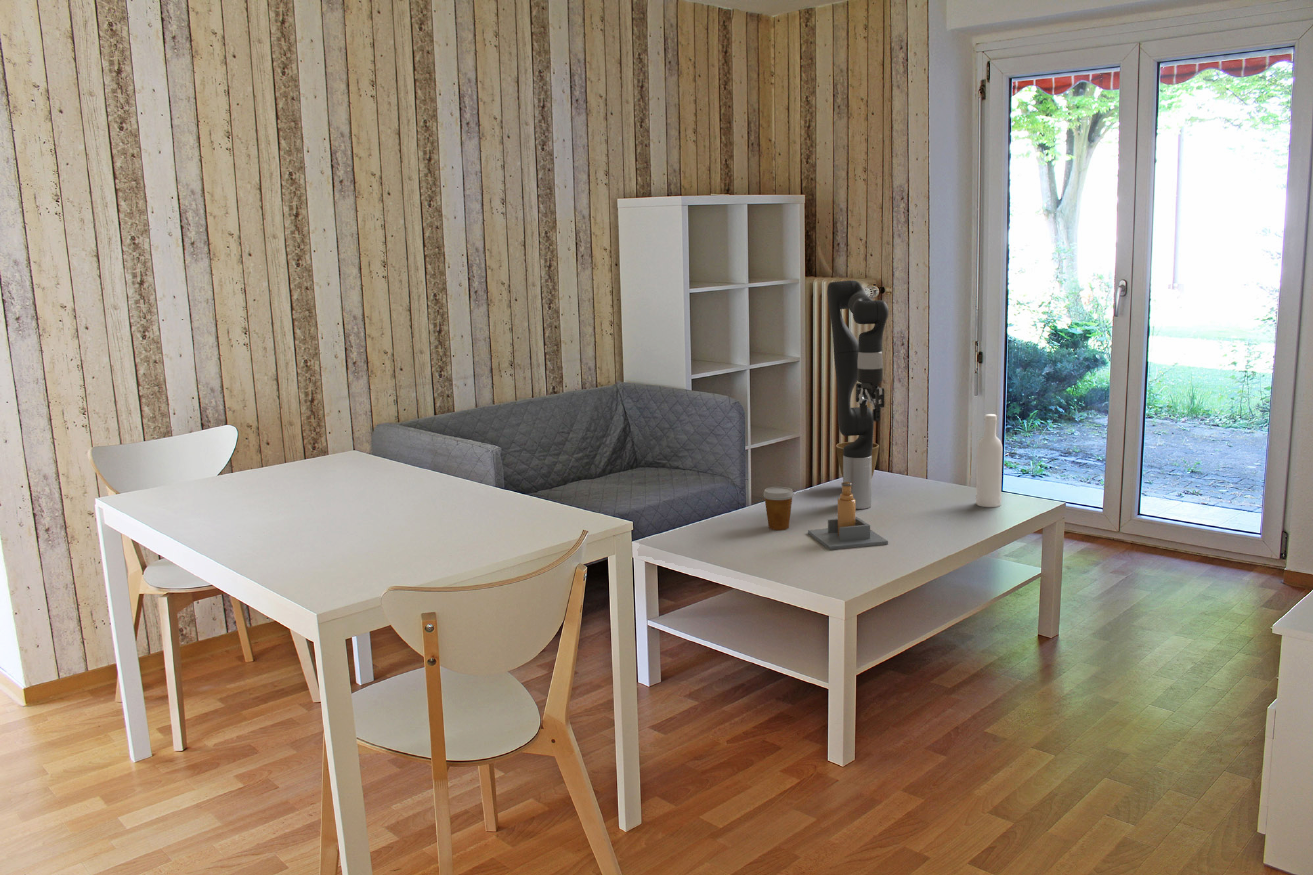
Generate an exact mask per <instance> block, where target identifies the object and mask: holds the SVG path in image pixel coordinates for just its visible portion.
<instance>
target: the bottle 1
mask: <svg viewBox="0 0 1313 875" xmlns="http://www.w3.org/2000/svg"><path fill="white" fill-rule="evenodd" d="M851 486H852V483H851V482H843V481H842V482H841V493H840V494H839V497H838V498H837V518H838V536H839V527H848V526H855V517H856V509H855V507H856V500H855V499H854V498H853V494H851Z"/></svg>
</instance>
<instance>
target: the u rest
mask: <svg viewBox="0 0 1313 875" xmlns="http://www.w3.org/2000/svg"><path fill="white" fill-rule="evenodd" d="M807 534H808V535H809V536H811V537H812V538H813V539H815V540H816V541H817V542H818V543H820V544H821V545H822V546H823V547H825V548H827V549H828V551H833V550H843V549H855V548H864V547H865V548H866V547H874V546H875V547H877V546H885V545H889V541H888V539H886V538H884V537H883V536H881V535H880V534H878V533H877V532H875V531H873V530H872V529H871V525H870V524H869V523H867V522H865V521H864V520H863V519H860V518H859V517H858V516H855V526H848V527H839V536H838V517H837V518H829V519H827V528H817V529H808V530H807Z"/></svg>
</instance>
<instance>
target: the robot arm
mask: <svg viewBox="0 0 1313 875" xmlns="http://www.w3.org/2000/svg"><path fill="white" fill-rule="evenodd" d="M826 293H827V294H826V295H827V303H828V309H829V310H828V312H829V316H830V323H831V330H832V342H833V343H832V344H833V348H832V349H833V359H834V370H835V377H836V387H837V390H836V391H837V422H838V427H839V428H838V429H839V432H840V434H841V435H842V436H844V437H853V436H858V437H857V438H856V439H855V440H854V441H851V442H852V443H850V444H848V445H846V446H845V447H844V449H843V477H842V482H851V483H852V486H851V494H853V498H854V499H855V500H856V507H855V510H862V509H869V508H871V507H872V481H873V476H872V447H873V443H874V431H875V430H874V426H875V422H880V421H881V409H882V408H885V406H886V404H885V388H884V387H880V386H879V384H880V383H882V382H883V377H884V376H883V373H884V372H883V371H884V370H883V368H884V365H883V362H884V360H883V336H884V330H885V328H886V323H887V320H888V316H889V306H888V303H886V302H885V300H882V299H879V300H873V298H871V297H870V296H868V295H867V294H866V291H865V289H864V288H863V286H862V285H861V283H860V281H857V280H841V281H840V280H839V281H832V282H830V283H828V285H827V291H826ZM841 310H849V311H850V313H852V318H853V320H854V322H855V323H856V324H859V325H873V327H872V329H870V330H868V331H863V332H861V333H859V334H858V338H857V337H856V335H855V334H853V332H852V331H851V330H850V328H849V327H848V326H847V324H846V322H845V320H844V319H843V316H842V312H841ZM854 388H855V402H856V403H858V405H859V406H856V407H851V397H852V394H853V390H854ZM868 402H869V403H870V404H871V407H872V409H871V408H870V407H868Z"/></svg>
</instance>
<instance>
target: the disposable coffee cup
mask: <svg viewBox="0 0 1313 875" xmlns="http://www.w3.org/2000/svg"><path fill="white" fill-rule="evenodd" d="M794 495H795V493H794V491H793V489H792V488H791V487H784V486H771V487H766V488H765V489H764V491H763V493H762V496H763V498H764V503H765V511H766V517H767V518H766V519H767V526H768V528H769V529H770V530H774V531H783V530H784V531H785V530H788V529H789V528H790V521H791V512H792V504H793V497H794Z"/></svg>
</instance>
